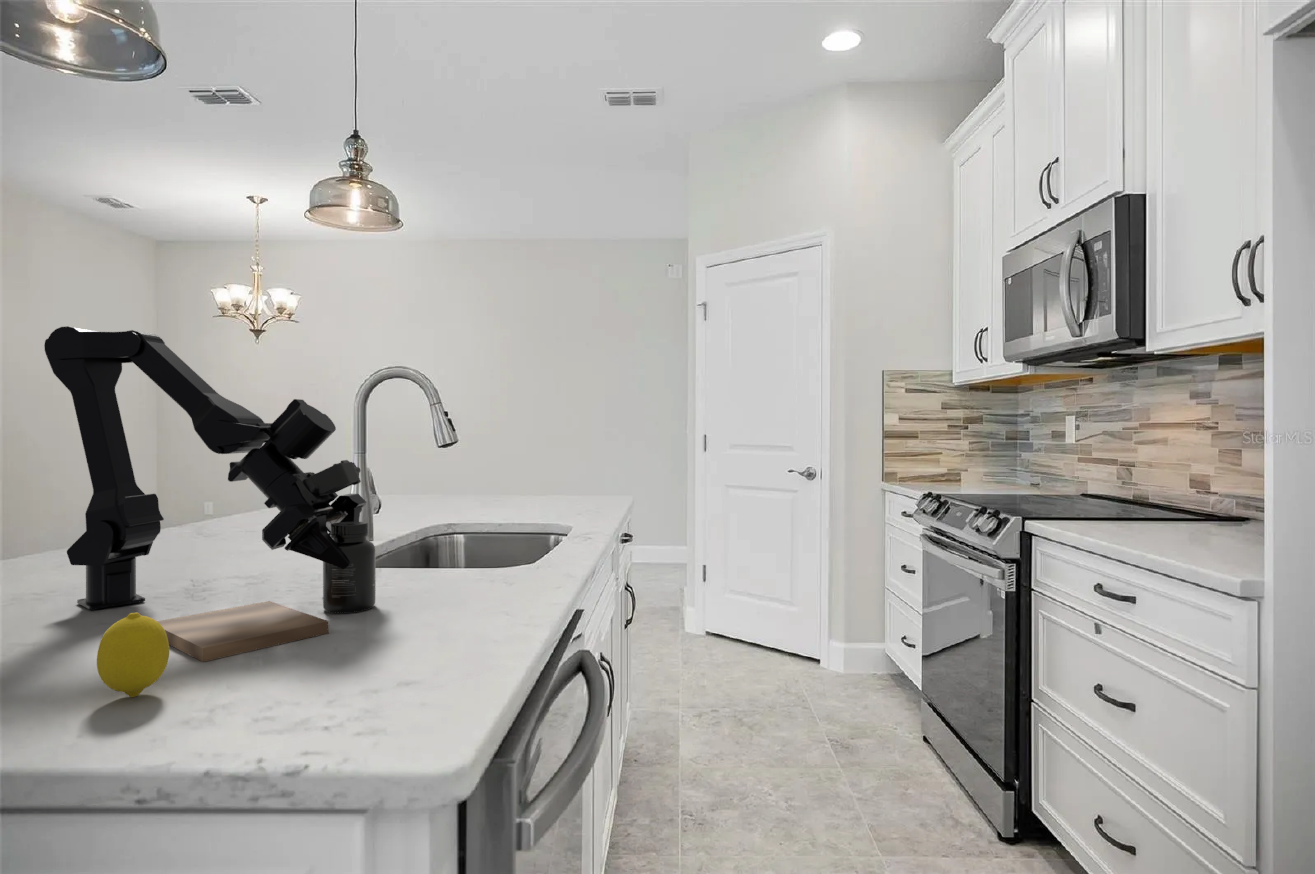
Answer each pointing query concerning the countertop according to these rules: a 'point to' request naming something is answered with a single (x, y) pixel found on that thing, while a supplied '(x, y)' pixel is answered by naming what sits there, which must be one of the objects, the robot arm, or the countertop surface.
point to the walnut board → (240, 629)
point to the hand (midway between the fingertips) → (359, 561)
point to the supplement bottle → (350, 571)
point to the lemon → (133, 654)
